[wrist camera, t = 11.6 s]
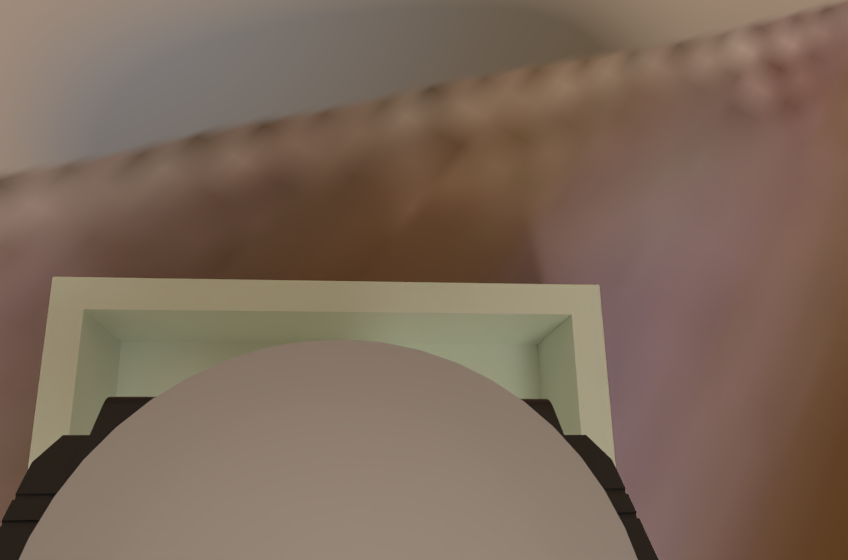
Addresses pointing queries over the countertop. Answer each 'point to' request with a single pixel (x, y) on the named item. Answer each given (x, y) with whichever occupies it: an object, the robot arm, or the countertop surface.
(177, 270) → the countertop surface
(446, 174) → the countertop surface
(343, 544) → the salt shaker
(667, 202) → the countertop surface
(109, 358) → the bin
